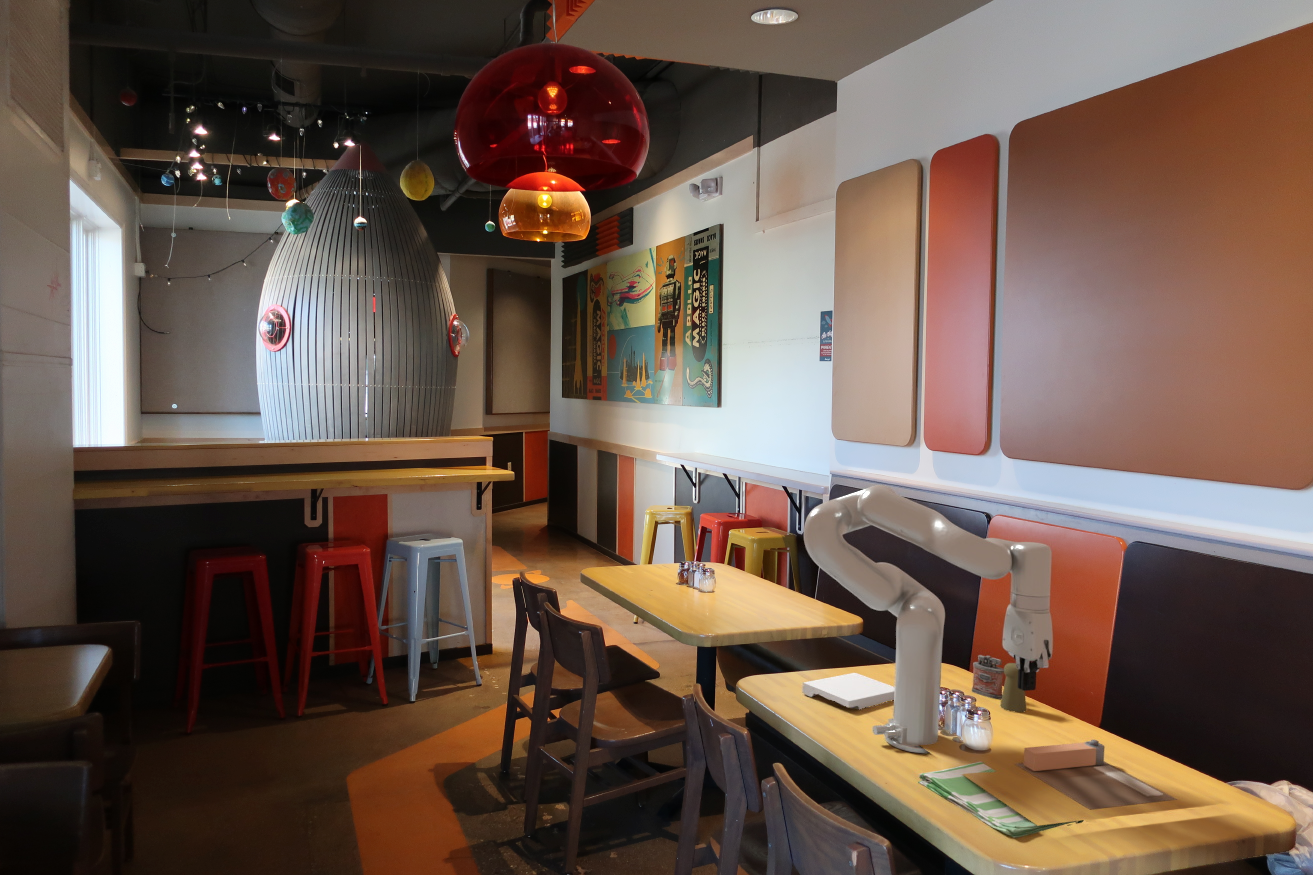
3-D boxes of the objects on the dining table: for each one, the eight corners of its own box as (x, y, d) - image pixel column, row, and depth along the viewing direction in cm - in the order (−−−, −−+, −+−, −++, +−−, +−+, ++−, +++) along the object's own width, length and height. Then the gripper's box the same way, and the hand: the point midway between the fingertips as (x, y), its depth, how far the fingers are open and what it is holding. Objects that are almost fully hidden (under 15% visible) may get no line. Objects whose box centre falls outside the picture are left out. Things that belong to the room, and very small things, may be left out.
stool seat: (1089, 817, 152) (1090, 808, 152) (1013, 770, 171) (1014, 762, 171) (1176, 806, 158) (1177, 797, 158) (1093, 762, 177) (1094, 754, 177)
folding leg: (1093, 757, 175) (1095, 736, 175) (1107, 764, 172) (1108, 743, 172) (1022, 764, 170) (1023, 743, 170) (1035, 771, 167) (1036, 750, 167)
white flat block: (854, 684, 225) (802, 695, 213) (855, 672, 225) (802, 682, 213) (900, 702, 213) (847, 714, 201) (901, 689, 213) (848, 701, 201)
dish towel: (1011, 843, 143) (1012, 827, 143) (914, 785, 164) (915, 771, 164) (1083, 824, 150) (1084, 809, 150) (982, 771, 171) (983, 758, 171)
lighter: (969, 691, 221) (971, 653, 220) (975, 688, 223) (977, 651, 223) (998, 700, 215) (1000, 661, 214) (1005, 697, 217) (1007, 659, 216)
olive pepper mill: (1029, 713, 206) (1031, 668, 205) (1002, 710, 207) (1005, 666, 206) (1023, 705, 212) (1025, 661, 211) (998, 702, 213) (1000, 659, 212)
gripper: (990, 594, 181) (987, 679, 182) (1040, 611, 167) (1037, 702, 168) (1020, 593, 184) (1016, 677, 184) (1071, 609, 169) (1068, 699, 170)
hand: (1026, 688), depth 176 cm, fingers closed
